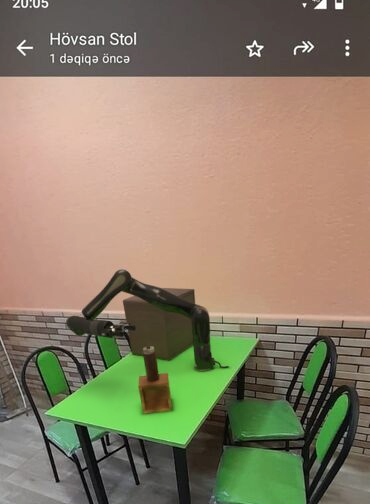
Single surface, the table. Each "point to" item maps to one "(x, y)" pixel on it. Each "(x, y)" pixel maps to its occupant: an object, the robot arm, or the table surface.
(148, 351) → the pepper mill
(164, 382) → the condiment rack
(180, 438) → the table surface
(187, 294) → the storage cube
